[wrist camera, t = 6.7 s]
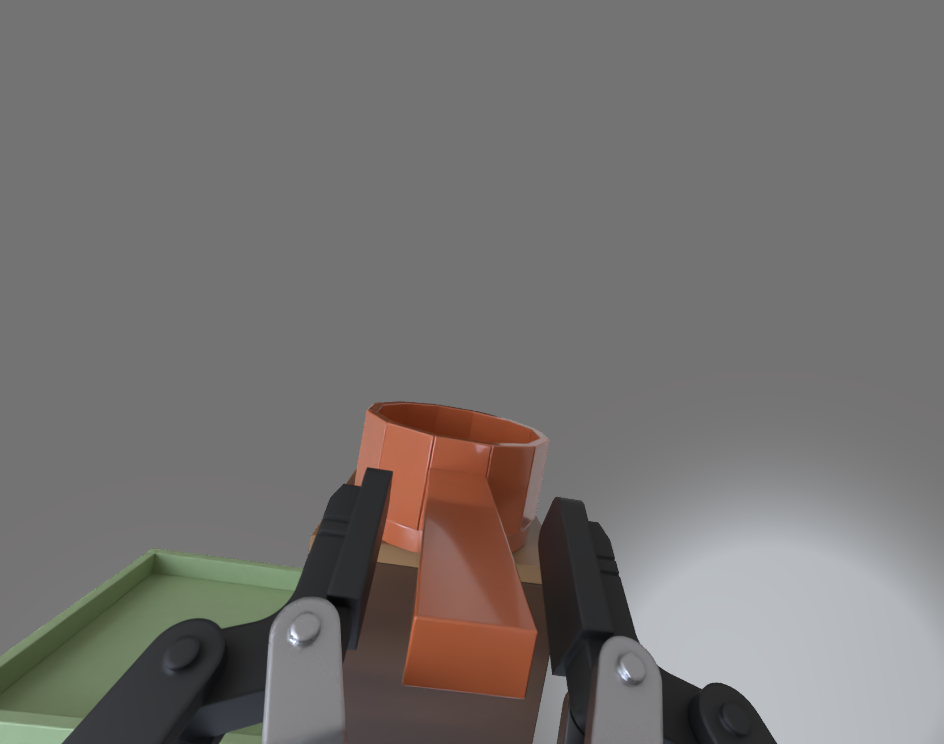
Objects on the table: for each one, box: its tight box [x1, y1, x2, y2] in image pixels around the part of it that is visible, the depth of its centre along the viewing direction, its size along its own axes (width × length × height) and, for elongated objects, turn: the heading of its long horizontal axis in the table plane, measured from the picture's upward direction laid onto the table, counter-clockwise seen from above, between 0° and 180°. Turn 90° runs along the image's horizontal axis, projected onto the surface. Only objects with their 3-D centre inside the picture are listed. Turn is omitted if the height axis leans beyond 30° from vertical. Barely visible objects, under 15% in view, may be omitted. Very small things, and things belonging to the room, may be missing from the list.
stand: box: [308, 468, 550, 744], centre depth 25 cm, size 14×25×31 cm, turn 94°
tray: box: [0, 548, 303, 744], centre depth 25 cm, size 14×14×2 cm
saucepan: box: [354, 402, 550, 699], centre depth 17 cm, size 18×9×5 cm, turn 4°
